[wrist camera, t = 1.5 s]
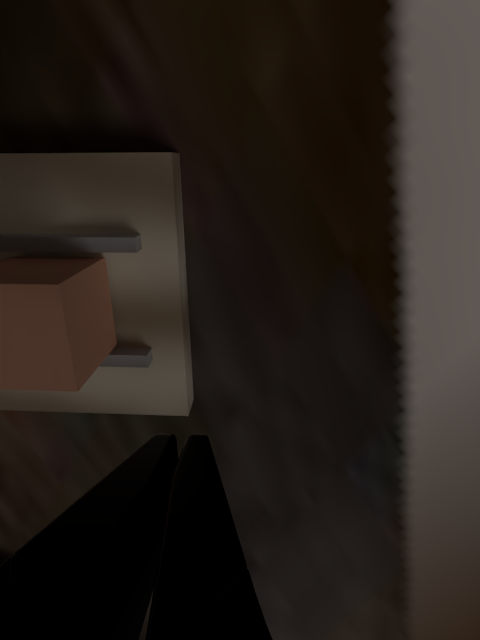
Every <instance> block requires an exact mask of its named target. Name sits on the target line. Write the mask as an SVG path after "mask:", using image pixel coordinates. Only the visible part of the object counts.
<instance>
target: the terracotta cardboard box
mask: <svg viewBox="0 0 480 640" xmlns="http://www.w3.org/2000/svg"><path fill="white" fill-rule="evenodd" d="M116 345H117V340H116V333H115V325H114V318H113V310H112V303H111V296H110V288H109V281H108V273H107V266H106V259H105V257H33V256H12V257H9V258H7V259H4V260H1V261H0V390H35V391H70V392H78V391H79V390H80V389H81V387H82V386H83V385H84V384H85V383H86V381H87V380H88V379H89V378H90V376H91V375H92V374H93V373H94V372H95V370H96V369H97V368H98V367H99V365H100V364H101V363H102V362H103V361H104V359H105V358H106V357H107V356H108V354H109V353H110V352H111V351H112V350H113V348H114V347H115V346H116Z"/></svg>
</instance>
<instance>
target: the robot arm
mask: <svg viewBox="0 0 480 640" xmlns="http://www.w3.org/2000/svg"><path fill="white" fill-rule="evenodd" d="M153 589H154V591H153ZM152 592H153V597H152V604H151V610H150V616H149V622H148V628H147V634H146V640H272V637H271V635H270V632H269V630H268V627H267V625H266V622H265V619H264V616H263V613H262V610H261V607H260V605H259V602H258V599H257V596H256V593H255V590H254V586H253V583H252V580H251V576H250V573H249V571H248V570H247V564H246V561H245V557H244V554H243V551H242V547H241V544H240V541H239V538H238V534H237V531H236V528H235V524H234V521H233V518H232V514H231V511H230V508H229V504H228V501H227V498H226V494H225V491H224V488H223V485H222V481H221V478H220V475H219V471H218V468H217V465H216V461H215V458H214V455H213V451H212V448H211V445H210V442H209V438H208V437H207V436H206V435H190V436H188V437H187V439H186V442H185V445H184V447H183V450H182V452H181V455H180V458H179V460H178V451H177V440H176V437H175V435H173V434H155V435H154V436H152V437H151V438H150V439H149V440H148V441H147V442H145V443H144V444H143V445H142V446H141V447H139V448H138V449H137V450H136V451H135V452H134V453H132V454H131V455H130V456H129V457H128V458H126V459H125V460H124V461H123V462H122V463H120V464H119V465H118V466H117V467H116V468H115V469H113V470H112V471H111V472H110V473H109V474H107V475H106V476H105V477H104V478H103V479H102V480H100V481H99V482H98V483H97V484H96V485H94V486H93V487H92V488H91V489H90V490H88V491H87V492H86V493H85V494H84V495H83V496H81V497H80V498H79V499H78V500H77V501H75V502H74V503H73V504H72V505H71V506H70V507H68V508H67V509H66V510H65V511H64V512H62V513H61V514H60V515H59V516H58V517H56V518H55V519H54V520H53V521H52V522H51V523H49V524H48V525H47V526H46V527H45V528H43V529H42V530H41V531H40V532H39V533H38V534H36V535H35V536H34V537H33V538H32V539H30V540H29V541H28V542H27V543H26V544H24V545H23V546H22V547H21V548H20V549H19V550H17V551H16V552H15V554H14V557H12V556H11V557H9V558H8V559H6V560H5V561H4V562H3V563H2V564H1V565H0V640H138V639H139V636H140V633H141V629H142V626H143V622H144V619H145V616H146V612H147V609H148V606H149V602H150V599H151V595H152Z"/></svg>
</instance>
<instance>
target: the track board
mask: <svg viewBox="0 0 480 640" xmlns="http://www.w3.org/2000/svg"><path fill="white" fill-rule="evenodd" d="M12 256H33V257H105V259H106V266H107V273H108V281H109V288H110V296H111V303H112V310H113V318H114V325H115V333H116V340H117V345H116V346H115V347H114V348H113V350H112V351H111V352H110V353H109V354H108V356H107V357H106V358H105V359H104V361H103V362H102V363H101V364H100V365H99V367H98V368H97V369H96V370H95V372H94V373H93V374H92V375H91V376H90V378H89V379H88V380H87V381H86V383H85V384H84V385H83V386H82V387H81V389H80V390H79V391H78V392H70V391H35V390H0V410H17V411H48V412H80V413H112V414H144V415H175V416H189V412H190V409H191V406H192V402H193V399H194V398H193V381H192V364H191V346H190V329H189V312H188V294H187V277H186V260H185V242H184V225H183V208H182V190H181V173H180V156H179V153H173V152H137V153H0V261H1V260H4V259H7V258H9V257H12Z"/></svg>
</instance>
